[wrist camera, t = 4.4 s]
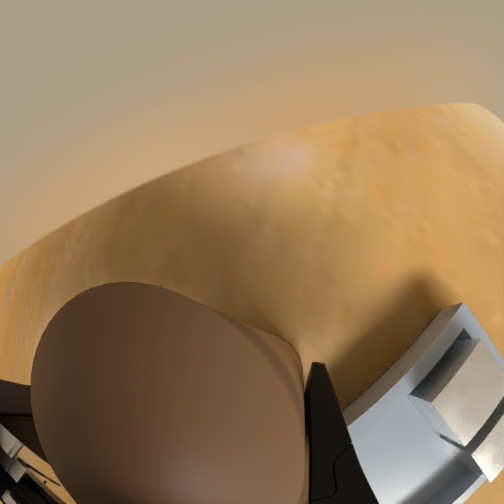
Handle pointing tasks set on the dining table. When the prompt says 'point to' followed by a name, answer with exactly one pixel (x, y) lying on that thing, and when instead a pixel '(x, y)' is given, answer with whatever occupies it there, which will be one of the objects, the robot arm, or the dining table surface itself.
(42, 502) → the robot arm
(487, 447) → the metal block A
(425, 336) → the parts tray
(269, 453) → the walnut dowel
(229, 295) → the dining table surface
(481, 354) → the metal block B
